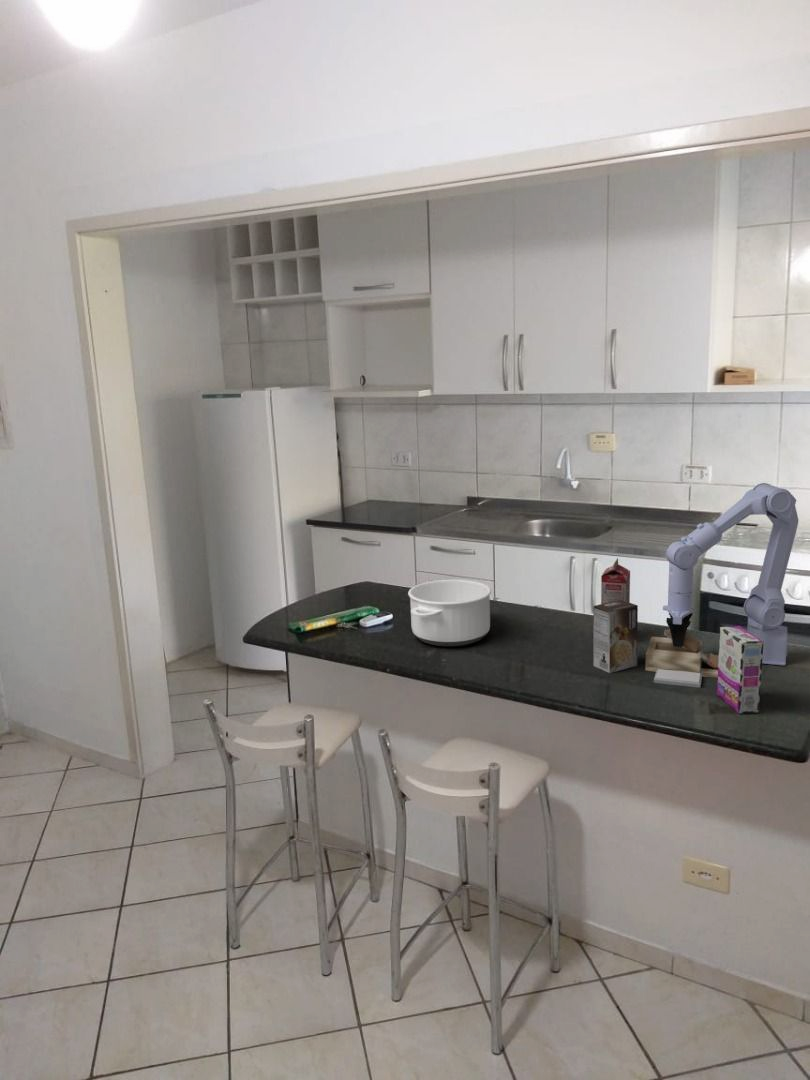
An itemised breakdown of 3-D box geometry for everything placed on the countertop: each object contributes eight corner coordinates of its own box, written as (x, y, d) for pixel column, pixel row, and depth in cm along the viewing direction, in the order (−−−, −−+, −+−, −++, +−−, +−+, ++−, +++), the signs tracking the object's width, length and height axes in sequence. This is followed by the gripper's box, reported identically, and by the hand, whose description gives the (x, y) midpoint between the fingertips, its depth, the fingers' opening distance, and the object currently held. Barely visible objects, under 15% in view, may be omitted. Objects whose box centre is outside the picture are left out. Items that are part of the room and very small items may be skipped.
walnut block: (695, 648, 211) (700, 642, 211) (694, 653, 208) (699, 647, 207) (668, 629, 213) (672, 623, 212) (666, 634, 209) (671, 628, 208)
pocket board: (720, 659, 214) (721, 642, 213) (718, 677, 202) (719, 660, 201) (651, 652, 220) (651, 636, 219) (645, 670, 209) (645, 653, 208)
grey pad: (701, 677, 203) (702, 672, 203) (700, 687, 197) (700, 682, 197) (656, 672, 207) (656, 668, 207) (653, 682, 201) (653, 678, 201)
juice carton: (600, 641, 230) (601, 563, 225) (604, 634, 236) (605, 557, 231) (625, 644, 227) (627, 565, 222) (628, 636, 233) (630, 558, 228)
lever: (715, 663, 211) (719, 658, 211) (714, 671, 206) (718, 667, 205) (665, 628, 214) (668, 624, 214) (662, 636, 209) (666, 631, 208)
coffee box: (620, 658, 217) (621, 598, 214) (637, 666, 212) (639, 605, 208) (592, 666, 213) (592, 605, 210) (609, 674, 208) (610, 611, 204)
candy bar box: (760, 713, 183) (765, 641, 179) (738, 714, 183) (742, 643, 179) (736, 692, 194) (740, 624, 190) (715, 694, 193) (718, 626, 190)
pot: (456, 662, 219) (455, 612, 216) (383, 648, 232) (381, 600, 229) (514, 625, 246) (514, 580, 243) (446, 614, 259) (445, 571, 256)
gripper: (666, 581, 216) (664, 632, 219) (660, 597, 203) (659, 651, 206) (695, 583, 213) (693, 634, 216) (691, 600, 200) (689, 654, 203)
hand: (678, 643), depth 211 cm, fingers closed on walnut block, 4 cm apart
